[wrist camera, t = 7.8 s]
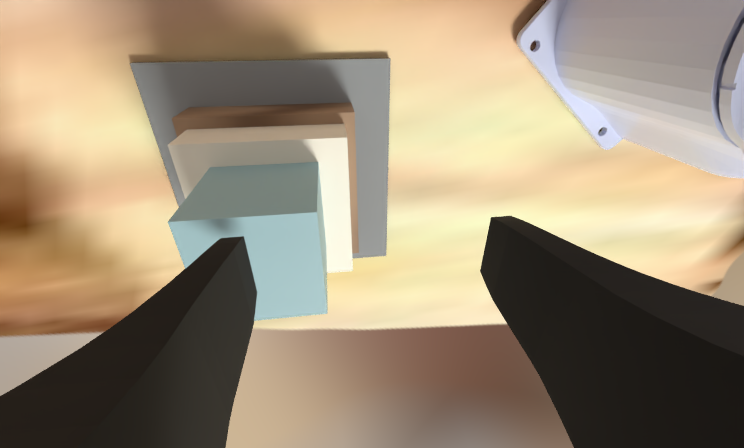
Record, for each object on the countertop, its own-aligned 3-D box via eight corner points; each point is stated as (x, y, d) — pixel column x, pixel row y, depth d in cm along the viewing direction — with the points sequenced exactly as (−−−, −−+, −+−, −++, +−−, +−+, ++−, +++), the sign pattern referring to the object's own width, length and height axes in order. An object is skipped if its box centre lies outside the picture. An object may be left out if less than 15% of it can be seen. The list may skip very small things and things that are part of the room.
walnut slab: (351, 102, 17) (354, 112, 15) (355, 232, 22) (358, 253, 20) (188, 107, 17) (171, 118, 15) (225, 242, 21) (216, 264, 19)
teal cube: (318, 161, 14) (317, 212, 10) (326, 247, 16) (327, 313, 13) (209, 167, 14) (167, 221, 10) (233, 254, 16) (206, 325, 12)
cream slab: (344, 123, 16) (347, 137, 14) (350, 246, 19) (353, 270, 17) (186, 129, 15) (167, 145, 13) (223, 256, 19) (212, 282, 17)
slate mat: (389, 58, 17) (390, 58, 17) (385, 253, 23) (386, 255, 23) (132, 62, 16) (129, 63, 15) (202, 267, 22) (200, 270, 21)
